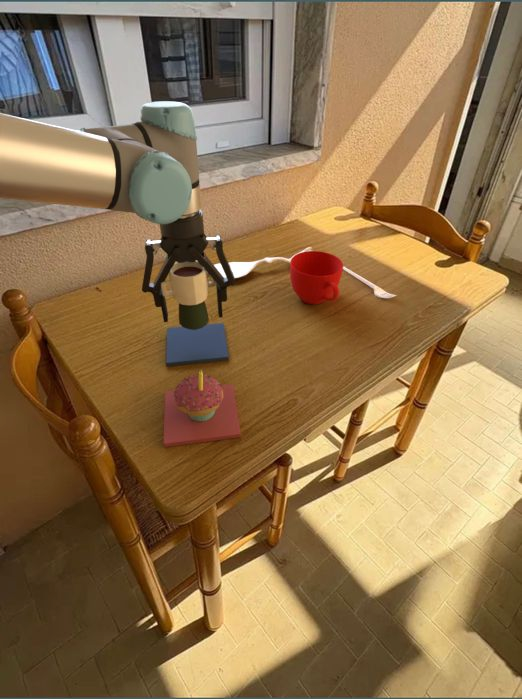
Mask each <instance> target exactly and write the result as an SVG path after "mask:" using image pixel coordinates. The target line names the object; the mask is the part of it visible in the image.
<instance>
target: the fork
mask: <svg viewBox="0 0 522 699" xmlns="http://www.w3.org/2000/svg"><path fill="white" fill-rule="evenodd" d="M343 270H344V271H345V272H347V273H348V274H349V275H351V276H353V277H354V278H356V279H357V280H359V281H361V282H362V283H364V284H366V286H369V287H370V288H371V289H373V294H374V296H375V297H378V298H380V299H392V298H395V297H396V296H398V294H392V293H390V292H387V291H386V290H384V289H383V288H381V287H379V286H377V285H376V284H374V283H373V282H371V281H369V280H368V279H366V278H364V277H362V276H361V275H359V274H357V273H355V272H354V271H353V270H351V269H350V268H349V269H348V268H347V267H345V266H343Z"/></svg>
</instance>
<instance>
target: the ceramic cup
mask: <svg viewBox="0 0 522 699" xmlns="http://www.w3.org/2000/svg"><path fill="white" fill-rule="evenodd" d="M298 253H299V254H297V253H296V254H297V255H295V254H294V255H295V256H294V255H293V256H294V257H293V256H292V257H293V258H292V257H291V258H292V259H291V261H290V263H289V277H290V283H291V287H292V289H293V292H294V293H295V294H296V296H297V297H298V298H299V299H300V300H301V301H302V302H303V303H305V304H308V305H319V304H322V303H324V302H325V301H327V302H333V301H336V300H337V299H338V298H339V295H340V288H339V284H340V282H341V277H342V274H343V267H344V263H343V261H342V260H341V258H339V257H338V256H336V255H334V254H332V253H329V252H326V251H320V250H313V251H310V250H309V251H307V252H302V253H300V252H298Z"/></svg>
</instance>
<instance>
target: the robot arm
mask: <svg viewBox="0 0 522 699" xmlns="http://www.w3.org/2000/svg"><path fill="white" fill-rule="evenodd" d="M197 141H198V136H197V132H196V126H195V120H194V114H193V110H192V108H191V107H190V106H189V105H188V104H186V103H183V102H181V101H180V102H179V101H172V100H171V101H169V100H163V101H161V100H159V101H151V102H146V103H144V104H143V105H142V106H141V107H140V121H136V122H133V123H130V124H119V125H117V124H116V125H111V126H110V125H107V126H100V127H99V126H98V127H91V128H85V127H81V128H80V129H77V130H75V129H71V128H66V127H64V126H63V127H62V126H58V125H54V124H49V123H45V122H41V121H36V120H32V119H28V118H24V117H19V116H15V115H11V114H8V113H7V114H6V113H4V112H3V113H2V112H0V199H4V200H14V201H22V202H23V201H25V202H33V203H43V204H52V205H61V206H71V207H79V208H80V207H81V208H90V209H99V210H107V211H108V210H109V211H115V212H123V213H131V214H136V215H137V216H138V217H139V218H140V219H143V220H144V221H148V222H150V223H153V224H156V225H159V229H160V230H159V231H160V236H161V237H160V239H159V240H152V239H150V238H147V239H146V240H145V243H144V251H145V255H146V259H145V265H144V271H143V279H142V284H141V285H142V286H141V292H143V293H151V294H152V296H153V302H154V306H155V307H156V308H161V313H162V319H163V323H168V322H169V312H168V305H167V301H166V297H164V296H163V294H162V289H161V283H162V282H164V281H167V280H166V279H167V278H168V276H169V272H170V270H171V268H172V267H173V265H174V264H175V262H178V263H183V262H195V261H196V260H197V261H198V262H199V264H200V265H201V266H203V267H204V269H205V270H206V271H207V272H208V273H209V275H210V278H211V277H212V278H213V279H214V281H215V282H216V285H215V288H216V289H215V290H216V300H217V301H216V302H217V313H218V318H223V317H224V316H223V314H224V313H223V303H224V302H227V301H228V292H227V291H228V288H229V287H230V286H231V287H234V286H235V285H236V278H234V275H233V272H232V270H231V268H230V265H229V260H228V258H227V255H226V253H225V251H224V245H223V244H224V243H223V238H222V236H221V235H220V234H217V235H215V236H214V237H207V236H206V234H205V224H204V213H203V210H201V209H202V207H203V204H202V203H203V202H202V192H201V182H200V170H199V159H198V158H199V156H198V146H197ZM208 246H210V248H211V249H212V250H213V251H215V252H216V255H217V258H218V260H219V263H221V265H222V268H223V270H224V272H225V275H226V278H224V277H223V276H222V275H221V273H220V272H219V271H218V270H217V269H216V267H215V266H214V265H215V264H214V263H213V262H212V260H210V259H209V257H208V256H207V254H206V252H205V250H206V248H208ZM160 249H161V250H162V251H163V252H165V253H166V256H165V259H164V262H163V263H162V265H161V268H160V270H159V272H158V273H157V276H156V277H155V279H154V281H153V282H151V279H152V278H151V277H152V272H153V267H154V266H153V265H154V260H155V255H156V254H158V252H159V250H160Z"/></svg>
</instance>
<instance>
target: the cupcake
mask: <svg viewBox="0 0 522 699" xmlns="http://www.w3.org/2000/svg"><path fill="white" fill-rule="evenodd" d="M221 385H222V384H221V383H220V380H219V381H218V380H217V379H216V378H214V377H213V376H211V375H207V374H204V373H203V369H200V371H199V372H198V374H193V375H189V376H188V377H184V378H183V380H181V381H180V382H179V383H178V384H177V386H176V387H175V389H174V390H173V391H174V400H175V403H176V406H177V409H178V410H180V411H182V412H184V413H186V414H188V415H189V416H190V418H192V419H193V420H195V421H206V420H208V419H210V418H211V417H212V416H213V415H214V413H215V410H216V409H217V408H218V407H219V405H220V403H221V402H222V400H223V390H222V386H221Z"/></svg>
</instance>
